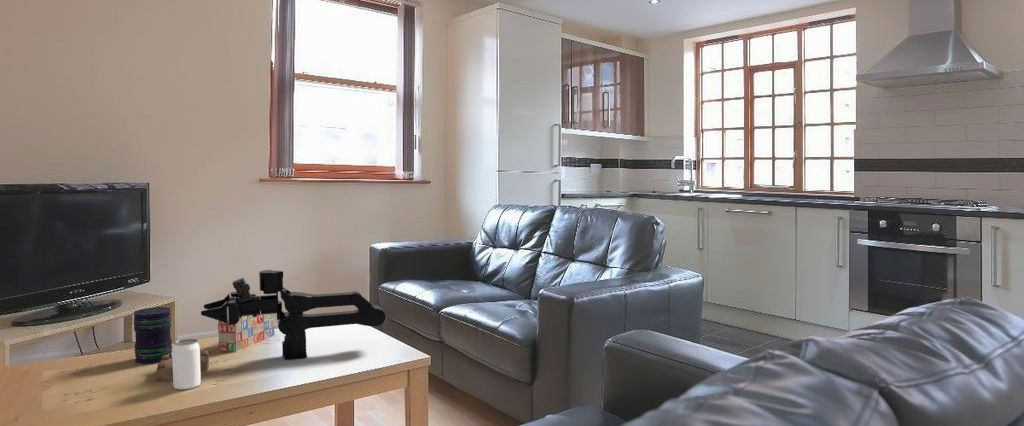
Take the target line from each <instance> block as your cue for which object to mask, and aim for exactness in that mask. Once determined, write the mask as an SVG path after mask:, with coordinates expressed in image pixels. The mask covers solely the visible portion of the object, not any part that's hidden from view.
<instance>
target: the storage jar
mask: <svg viewBox="0 0 1024 426" xmlns="http://www.w3.org/2000/svg"><path fill="white" fill-rule="evenodd" d="M171 311H172V310H171V308H170V307H167V306H166V307H164V306H160V307H158V306H156V307H147V308H141V309H140V308H139V309H138V310H135V311H134V312H133V330H134V332H135V333H134V334H135V335H134V336H135V343H134V356H135V363H136V364H139V365H153V364H159V363H160V362H161V360H162V356H163V355H169V358H172V348H173V340H172V339H171V328H172V314H171Z"/></svg>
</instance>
